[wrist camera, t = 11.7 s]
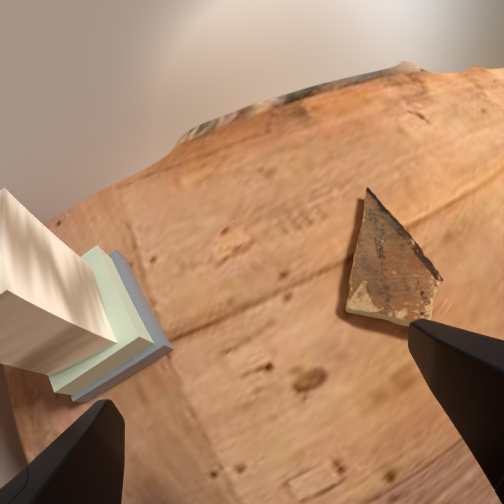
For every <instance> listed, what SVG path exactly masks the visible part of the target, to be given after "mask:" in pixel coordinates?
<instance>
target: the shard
mask: <svg viewBox="0 0 504 504" xmlns="http://www.w3.org/2000/svg"><path fill="white" fill-rule="evenodd" d="M443 281H444V280H443V279H442V277H441V276H440V274H439V272H438V271H437V270H436V269H435V267H434V265H433V263H432V262H431V261H430V260H429V258H427V257H426V256H425V255H424V253H423V251H422V249H421V248H420V247H419V245H418V244H417V243H416V242H415V240H414V239H413V238H412V236H411V235H410V233H409V232H408V231H407V230H406V229H405V228H404V226H403V225H402V224H401V223H400V222H399V221H398V220H397V219H396V218H395V217H394V216H393V215H392V214H391V213H390V212H389V211H388V210H387V209H386V208H385V207H384V206H383V205H382V204H381V202H380V201H379V200H378V199H377V197H376V195H375V194H374V193H373V192H372V191H371V190H370V189H369V188H367V189H366V193H365V202H364V213H363V220H362V225H361V228H360V231H359V234H358V239H357V246H356V249H355V252H354V258H353V265H352V268H351V273H350V279H349V288H350V289H349V295H348V299H347V301H346V302H347V305H346V312H348V313H352V314H358V315H363V316H368V317H373V318H379V319H385V320H387V321H390V322H393V323H395V324H398V325H403V326H406V327H409V323H410V322H412V321H414V320H417V319H419V318H424V319H427V320H431V312H432V307H433V301H434V297H435V294H436V292H437V289H438V286H439V284H440V283H442V282H443Z"/></svg>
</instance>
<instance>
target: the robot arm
mask: <svg viewBox="0 0 504 504" xmlns="http://www.w3.org/2000/svg"><path fill="white" fill-rule="evenodd" d="M408 348H409V351H410V353H411V355H412V357H413V359H414V360H415V362H416V364H417V366H418V368H419V370H420V371H421V373H422V375H423V377H424V379H425V381H426V383H427V385H428V386H429V388H430V390H431V391H432V393H433V395H434V396H435V397H436V399H437V400H438V402H439V403H440V405H441V406H442V408H443V409H444V411H445V412H446V414H447V415H448V417H449V418H450V420H451V421H452V423H453V424H454V426H455V427H456V429H457V430H458V432H459V433H460V435H461V436H462V438H463V440H464V441H465V443H466V444H467V446H468V447H469V449H470V451H471V452H472V454H473V455H474V457H475V459H476V460H477V462H478V463H479V465H480V467H481V468H482V470H483V472H484V473H485V475H486V477H487V478H488V480H489V482H490V483H491V485H492V487H493V488H494V489H495V492H496V494H497V496H498V497H499V499H500V501H501V503H502V504H504V340H500V339H496V338H493V337H489V336H485V335H482V334H478V333H474V332H471V331H467V330H463V329H460V328H456V327H452V326H449V325H445V324H442V323H438V322H435V321H431V320H427V319H424V318H419V319H417V320H414V321H412V322H410V323H409V327H408ZM124 463H125V422H124V419H123V417H122V415H121V414H120V412H119V411H118V409H117V408H116V406H115V405H114V403H113V402H112V401H111V400H110V399H104V400H98V401H97V402H95V403H94V404H93V405H92V406H91V407H90V408H89V409H88V410H87V411H86V412H85V413H84V414H83V415H81V416H80V417H79V418H78V419H77V420H76V421H75V422H74V423H73V424H72V425H71V426H70V427H68V428H67V429H66V430H65V431H64V432H63V433H62V434H61V435H60V436H59V437H58V438H57V439H55V440H54V441H53V442H52V443H51V444H50V445H49V446H48V447H47V448H46V449H45V450H44V451H42V452H41V453H40V454H39V455H38V456H37V457H36V458H35V459H34V460H33V461H32V462H31V463H29V465H28V466H26V467H25V468H24V469H23V470H22V471H21V472H20V473H18V474H17V475H16V476H15V477H14V478H13V479H12V480H10V481H9V482H8V483H7V484H6V485H4V486H3V487H2V488H0V504H121V500H122V487H123V476H124Z"/></svg>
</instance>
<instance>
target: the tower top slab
mask: <svg viewBox="0 0 504 504" xmlns="http://www.w3.org/2000/svg"><path fill="white" fill-rule="evenodd" d="M81 258H82V259H83V260H84V261H85V262H87V263H88V264H89V265H90V266H91V267H93V270H94V274H95V277H96V281H97V284H98V287H99V291H100V294H101V297H102V300H103V303H104V306H105V309H106V313H107V316H108V318H109V321H110V324H111V327H112V330H113V333H114V336H115V338H116V341H117V343H116V344H115V345H113V346H111V347H109V348H107V349H105V350H103V351H101V352H99V353H97V354H95V355H93V356H91V357H89V358H87V359H85V360H83V361H81V362H79V363H77V364H75V365H73V366H71V367H69V368H68V369H66V370H64V371H62V372H60V373H58V374H56V375H54V376H49V375H48V377H49V380H50V383H51V385H52V388H53V390H54V393H61V394H69V395H75V394H77V393H79V392H80V391H82V390H83V389H85V388H87V387H88V386H90V385H91V384H93V383H94V382H96V381H98V380H99V379H101V378H102V377H104V376H105V375H107V374H109V373H110V372H112V371H113V370H115V369H116V368H118V367H119V366H121V365H123V364H124V363H126V362H127V361H129V360H130V359H132V358H133V357H135V356H136V355H138V354H140V353H141V352H143V351H144V350H146V349H147V348H149V347H150V346H152V345H153V344H154V342H153V340H152V338H151V336H150V335H149V333H148V331H147V329H146V327H145V325H144V323H143V322H142V320H141V318H140V316H139V314H138V312H137V310H136V308H135V306H134V304H133V302H132V300H131V298H130V296H129V294H128V292H127V290H126V288H125V286H124V284H123V282H122V280H121V278H120V275H119V273H118V271H117V269H116V267H115V265H114V263H113V260H112V259H111V258H110V257H109V256H108V255H107V254H106V253H105V252H104V251H103V250H102V249H100V248H99V247H98V246H97V245H96V246H95V247H94V248H92V249H91V250H89V251H88V252H87V253H85V254H84V255H83V256H81Z"/></svg>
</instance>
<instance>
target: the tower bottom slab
mask: <svg viewBox="0 0 504 504" xmlns="http://www.w3.org/2000/svg"><path fill="white" fill-rule="evenodd" d="M109 257H110V258H111V259H112V260H113V263H114V265H115V267H116V269H117V271H118V273H119V275H120V278H121V280H122V282H123V284H124V286H125V288H126V290H127V292H128V294H129V296H130V298H131V300H132V302H133V304H134V306H135V308H136V310H137V312H138V314H139V316H140V318H141V320H142V322H143V323H144V325H145V327H146V329H147V331H148V333H149V335H150V336H151V338H152V340H153V342H154V344H153V345H152V346H150V347H149V348H147V349H146V350H144V351H143V352H141V353H140V354H138V355H136V356H135V357H133V358H132V359H130V360H129V361H127V362H126V363H124V364H123V365H121V366H119V367H118V368H116V369H115V370H113V371H112V372H110V373H109V374H107V375H105V376H104V377H102V378H101V379H99V380H98V381H96V382H94V383H93V384H91V385H90V386H88V387H87V388H85V389H83V390H82V391H80V392H79V393H77V394H75V395H70V396H71V399H72V401H73V402H84V403H86V402H88V401H90V400H91V399H93V398H95V397H96V396H98V395H100V394H102V393H103V392H105V391H107V390H108V389H110V388H112V387H113V386H115V385H117V384H118V383H120V382H122V381H123V380H125V379H126V378H128V377H130V376H131V375H133V374H135V373H136V372H138V371H140V370H141V369H143V368H144V367H146V366H148V365H149V364H151V363H153V362H154V361H156V360H157V359H159V358H161V357H162V356H164V355H165V354H167V353H169V352H170V351H172V350H173V348H172V346H171V344H170V342H169V341H168V339H167V337H166V335H165V333H164V332H163V330H162V328H161V326H160V324H159V323H158V321H157V319H156V317H155V315H154V313H153V311H152V309H151V308H150V306H149V304H148V302H147V300H146V298H145V296H144V294H143V292H142V290H141V288H140V286H139V284H138V282H137V280H136V278H135V276H134V274H133V272H132V270H131V268H130V266H129V264H128V261H127V259H126V258H125V257H124V256H123V255H122V254H121V253H120V252H119V251H118V250H116V251H114V252H113V253H112V254H110V255H109Z"/></svg>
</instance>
